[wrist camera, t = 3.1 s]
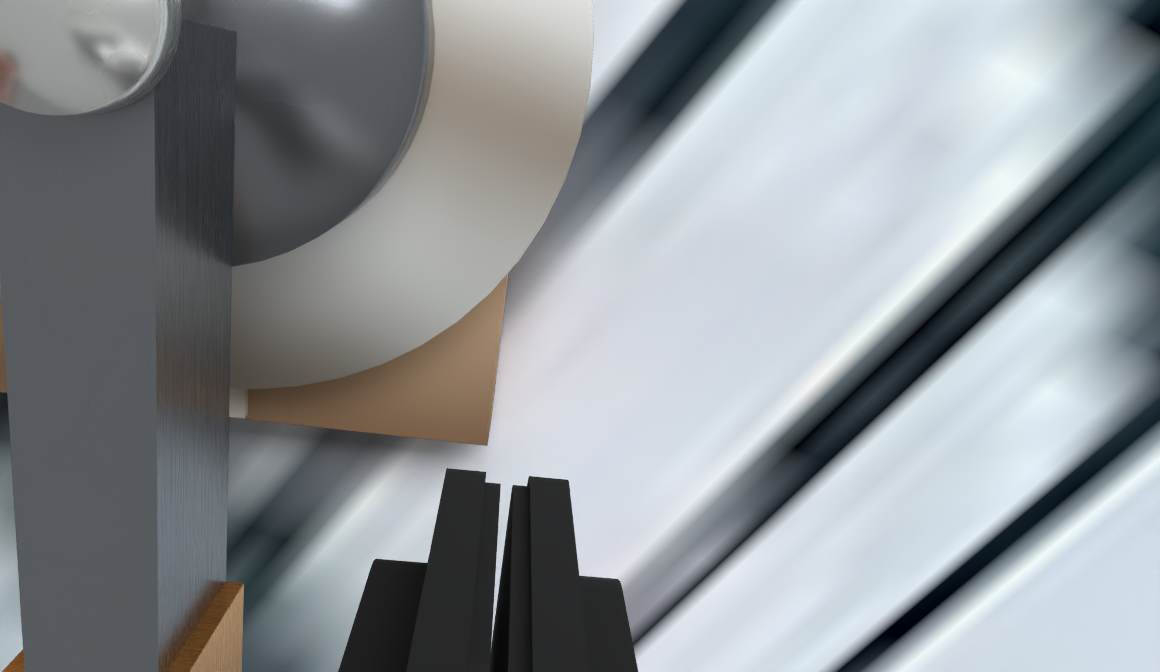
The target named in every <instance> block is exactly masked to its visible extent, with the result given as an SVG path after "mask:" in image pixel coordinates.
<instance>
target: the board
mask: <svg viewBox="0 0 1160 672" xmlns="http://www.w3.org/2000/svg"><path fill="white" fill-rule="evenodd" d="M432 8H433V18H434V28H435V50H434V68H433V74H432V81H431V88H430V94H429V97H428V101H427V104H426V108H425V111H424V115H423V118H422V121H421V124H420V126H419V128H418V131H417V133H416V135H415V137H414V140H413V142H412V144H411V147H410V148H409V150H408V152H407V153H406V155H405V157H404V158H403V160H402V162H401V163H400V165H399V166H398V168H397V170H396V171H395V173H394V174H393V175H392V176H391V177H390V179H389V180H388V181H387V182H386V184H385V185H384V186H383V187H382V188H381V190H380V191H379V192H378V193H377V194H376V195H375V196H374V197H373V198H372V199H371V200H369V201H368V202H367V203H366V204H365V205H364V206H363V207H362V208H361V209H360V210H359V211H357V212H356V213H354V214H353V215H351V216H350V217H349V218H347V219H346V220H344V221H343V222H341V223H340V224H338V225H337V226H335V227H334V228H332V229H331V230H329V231H327V232H326V233H324V234H322V235H321V236H319V237H318V238H316V239H314V240H312V241H310V242H308V243H306V244H304V245H302V246H300V247H298V248H296V249H294V250H292V251H290V252H287V253H284V254H281V255H278V256H275V257H272V258H269V259H266V260H264V261H260V262H254V263H249V264H244V265H239V266H234V267H232V299H231V349H230V399H229V417H230V418H239V419H248V420H257V421H267V422H276V423H285V424H294V425H303V426H312V427H321V428H330V429H339V430H349V431H358V432H367V433H376V434H385V435H394V436H403V437H412V438H421V439H430V440H440V441H449V442H458V443H467V444H476V445H485V446H487V444H488V438H489V431H490V425H491V418H492V409H493V401H494V392H495V384H496V375H497V367H498V358H499V350H500V341H501V333H502V324H503V316H504V307H505V299H506V290H507V282H508V273H509V271H510V270H511V269H512V268H513V267H514V265H515V264H516V263H517V262H518V261H519V260H520V258H521V257H522V255H523V254H524V252H525V251H526V249H527V248H528V246H529V245H530V243H531V242H532V240H533V239H534V237H535V236H536V234H537V233H538V231H539V230H540V228H541V227H542V225H543V224H544V222H545V220H546V218H547V216H548V214H549V212H550V210H551V208H552V206H553V204H554V202H555V200H556V198H557V196H558V194H559V192H560V190H561V188H562V186H563V184H564V182H565V179H566V176H567V173H568V170H569V167H570V164H571V161H572V159H573V156H574V153H575V150H576V147H577V144H578V141H579V138H580V135H581V130H582V125H583V120H584V115H585V110H586V105H587V100H588V95H589V90H590V83H591V70H592V56H593V43H594V24H593V4H592V0H432ZM0 392H2V393H7V380H6V364H5V348H4V332H3V316H2V300H1V284H0Z"/></svg>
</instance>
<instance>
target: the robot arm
mask: <svg viewBox="0 0 1160 672" xmlns="http://www.w3.org/2000/svg"><path fill="white" fill-rule="evenodd" d="M485 478H486V472H480V471H469V470H459V469H448V468H447V470H446V474H445V479H444V484H443V489H442V494H441V499H440V504H439V509H438V514H437V519H436V524H435V529H434V534H433V539H432V544H431V549H430V554H429V559H428V563H419V562H407V561H395V560H383V559H375V560H374V561H373V564H372V567H371V569H370V573H369V576H368V579H367V582H366V585H365V589H364V592H363V595H362V598H361V601H360V604H359V608H358V611H357V614H356V617H355V620H354V624H353V627H352V630H351V633H350V636H349V639H348V643H347V646H346V649H345V652H344V655H343V659H342V662H341V665H340V668H339V671H338V672H638V669H637V664H636V658H635V653H634V648H633V643H632V638H631V632H630V627H629V622H628V617H627V612H626V606H625V601H624V596H623V591H622V587H621V583H620V581H619V580H618V579H611V578H599V577H587V576H579V570H578V561H577V552H576V543H575V534H574V525H573V516H572V507H571V497H570V488H569V481H568V480H563V479H552V478H542V477H532V476H529V479H528V484H527V486H517V485H513V487H512V493H511V500H510V508H509V516H508V523H507V531H506V539H505V546H504V554H503V562H502V570H501V577H500V585H499V593H498V600H497V608H496V616H495V624H494V631H493V639H492V647H491V637H492V620H493V603H494V586H495V569H496V552H497V535H498V518H499V501H500V484H495V483H485ZM490 654H491V655H490Z"/></svg>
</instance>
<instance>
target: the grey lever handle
mask: <svg viewBox="0 0 1160 672" xmlns="http://www.w3.org/2000/svg"><path fill="white" fill-rule="evenodd" d="M434 50H435V28H434V18H433V8H432V0H0V284H1V300H2V316H3V332H4V348H5V364H6V380H7V396H8V412H9V428H10V444H11V460H12V476H13V492H14V509H15V525H16V541H17V557H18V573H19V589H20V605H21V621H22V637H23V650H22V651H21V652H20V653H19V654H18V655H17V656H16V657H15V659H14V660H13V661H12V662H11V663H10V664H9V665H8V666H7V667H6V668H5V669H4V670H3V671H2V672H241V671H242V634H243V597H244V583H234V582H226V550H227V500H228V450H229V399H230V349H231V299H232V267H234V266H239V265H244V264H249V263H254V262H260V261H264V260H266V259H269V258H272V257H275V256H278V255H281V254H284V253H287V252H290V251H292V250H294V249H296V248H298V247H300V246H302V245H304V244H306V243H308V242H310V241H312V240H314V239H316V238H318V237H319V236H321V235H322V234H324V233H326V232H327V231H329V230H331V229H332V228H334V227H335V226H337V225H338V224H340V223H341V222H343V221H344V220H346V219H347V218H349V217H350V216H351V215H353V214H354V213H356V212H357V211H359V210H360V209H361V208H362V207H363V206H364V205H365V204H366V203H367V202H368V201H369V200H371V199H372V198H373V197H374V196H375V195H376V194H377V193H378V192H379V191H380V190H381V188H382V187H383V186H384V185H385V184H386V182H387V181H388V180H389V179H390V177H391V176H392V175H393V174H394V173H395V171H396V170H397V168H398V166H399V165H400V163H401V162H402V160H403V158H404V157H405V155H406V153H407V152H408V150H409V148H410V147H411V144H412V142H413V140H414V137H415V135H416V133H417V131H418V128H419V126H420V124H421V121H422V118H423V115H424V111H425V108H426V104H427V101H428V97H429V94H430V88H431V81H432V74H433V68H434Z"/></svg>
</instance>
